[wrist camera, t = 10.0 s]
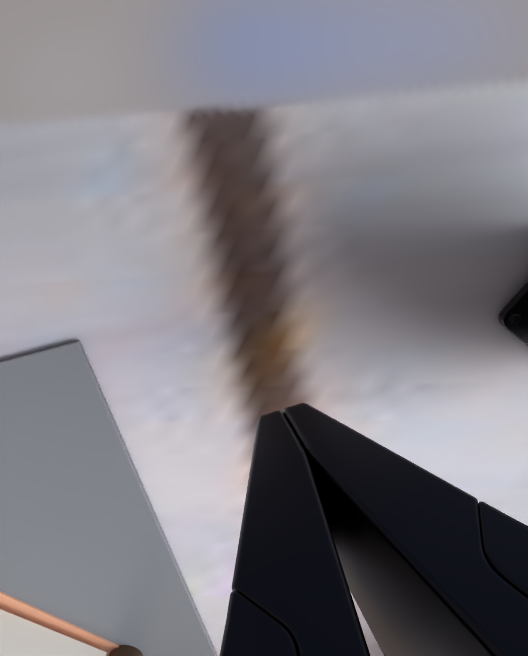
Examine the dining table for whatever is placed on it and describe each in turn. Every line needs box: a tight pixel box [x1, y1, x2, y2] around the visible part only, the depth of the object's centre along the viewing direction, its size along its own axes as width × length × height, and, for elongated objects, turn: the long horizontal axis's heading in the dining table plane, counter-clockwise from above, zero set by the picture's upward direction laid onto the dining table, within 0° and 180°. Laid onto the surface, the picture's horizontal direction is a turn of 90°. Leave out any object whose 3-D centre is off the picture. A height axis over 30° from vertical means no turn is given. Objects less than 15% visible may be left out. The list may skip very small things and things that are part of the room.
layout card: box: [0, 341, 217, 656], centre depth 25 cm, size 31×20×1 cm, turn 15°
